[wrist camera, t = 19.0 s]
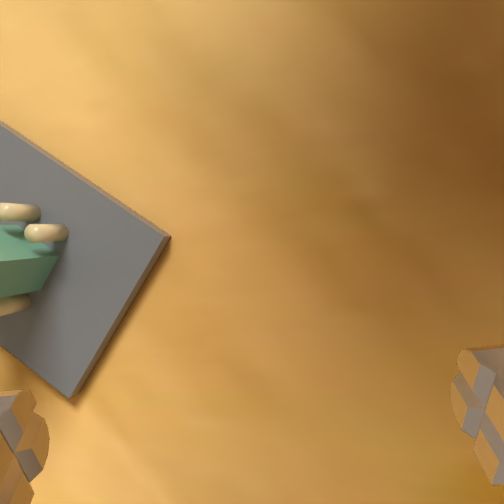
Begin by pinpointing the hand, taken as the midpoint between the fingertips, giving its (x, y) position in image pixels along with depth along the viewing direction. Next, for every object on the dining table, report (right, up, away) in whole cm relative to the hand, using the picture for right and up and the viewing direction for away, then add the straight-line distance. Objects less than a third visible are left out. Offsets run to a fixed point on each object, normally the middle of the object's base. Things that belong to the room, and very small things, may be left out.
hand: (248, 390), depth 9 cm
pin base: (-16, +2, +25) cm, 30 cm away
